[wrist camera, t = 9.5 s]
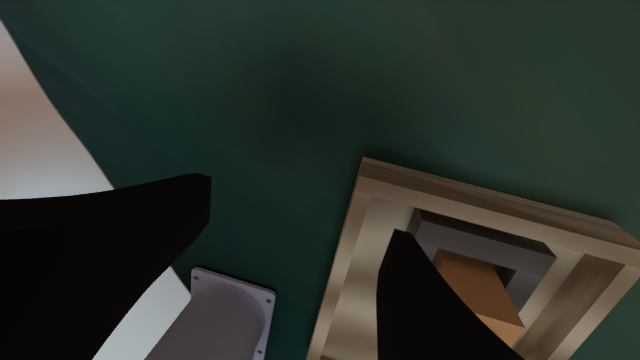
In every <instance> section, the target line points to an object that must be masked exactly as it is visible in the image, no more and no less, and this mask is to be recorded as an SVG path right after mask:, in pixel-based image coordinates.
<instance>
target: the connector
mask: <svg viewBox="0 0 640 360" xmlns="http://www.w3.org/2000/svg"><path fill="white" fill-rule="evenodd" d="M432 263H433V265H434V266H435V267H436V269H437V270H438V271H439V273H440V274H441V275H442V277H443V278H444V279H445V281H446V282H447V283H448V284H449V285H450V287H451V288H452V289H453V290H454V291H455V293H456V294H457V295H458V296H459V297H460V298H461V299H462V301H463V302H464V303H465V304H466V305H467V306H468V307H469V308H470V309H471V310H472V311H473V312H474V313H475V314H476V315H477V316H478V317H479V319H480V320H481V321H482V322H484V323H485V324H486V325H487V326H488V327H489V328H490V329H491V330H492V331H493V332H494V333H495V334H496V335H497V336H498V337H500V338H501V339H502V340H503V341H504V342H505V343H506V344H507V345H508V346H509V347H512V346H513V345H514V343H515V342H516V341H517V339H518V338H519V336H520V335H521V334H522V332H523V331H524V330H525V326H524V325H523V323H522V321H521V319H520V317H519V315H518V313H517V311H516V309H515V307H514V305H513V303H512V302H511V300H510V298H509V296H508V294H507V292H506V290H505V288H504V286H503V284H502V282H501V280H500V279H499V277H498V275H497V273H496V271H495V269H494V267H493V265H492V263H489V262H486V261H482V260H479V259H475V258H472V257H468V256H464V255H461V254H457V253H454V252H450V251H447V250H443V249H440V248H438V250H437V252H436V254H435V256H434V258H433V260H432Z"/></svg>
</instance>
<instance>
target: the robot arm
mask: <svg viewBox="0 0 640 360" xmlns="http://www.w3.org/2000/svg"><path fill="white" fill-rule="evenodd" d="M211 180H212V177H210V176H206V175H203V174H199V173H193V174H186V175H181V176H176V177H172V178H167V179H163V180H158V181H154V182H149V183H145V184H140V185H135V186H130V187H125V188H120V189H114V190H109V191H103V192H96V193H89V194H80V195H73V196H60V197H47V198H33V199H9V200H0V360H92V359H93V357H94V356H95V355H96V353H97V352H98V351H99V349H100V348H101V346H102V345H103V344H104V342H105V341H106V340H107V338H108V337H109V336H110V335H111V333H112V332H113V331H114V329H115V328H116V327H117V325H118V324H119V323H120V322H121V320H122V319H123V318H124V316H125V315H126V314H127V313H128V311H129V310H130V309H131V308H132V307H133V305H134V304H135V303H136V302H137V300H138V299H139V298H140V297H141V296H142V294H143V293H144V292H145V291H146V290H147V289H148V288H149V287H150V285H151V284H152V283H153V282H154V281H155V280H156V279H157V278H158V277H159V276H160V275H161V274H162V273H163V272H164V271H165V270H166V269H167V268H168V267H169V266H170V265H171V264H172V263H173V262H174V261H175V260H176V259H177V258H178V257H179V256H180V255H181V254H182V253H183V252H184V251H185V250H186V249H187V248H188V247H189V246H190V245H191V244H192V243H193V242H194V241H195V240H196V238H197V237H198V236H199V235H200V233H201V232H202V231H203V229H204V228H205V226H206V225H207V224H208V222H209V218H210V199H211ZM269 299H270V300H269ZM275 300H276V293H275V292H274V291H272V290H270V289H266V288H263V287H260V286H257V285H254V284H250V283H247V282H244V281H241V280H238V279H234V278H231V277H228V276H225V275H222V274H218V273H215V272H212V271H209V270H206V269H202V268H199V267H195V268H194V269H193V270H192V272H191V300H190V302H189V303H188V304H187V306H186V307H185V308H184V309H183V311H182V312H181V313H180V315H179V316H178V317H177V319H176V320H175V321H174V322H173V324H172V325H171V326H170V327H169V329H168V330H167V331H166V333H165V334H164V335H163V336H162V338H161V339H160V340H159V341H158V343H157V344H156V345H155V347H154V348H153V349H152V350H151V352H150V353H149V354H148V355H147V357H146V358H145V359H144V360H264V357H265V352H266V347H267V342H268V336H269V331H270V326H271V321H272V315H273V310H274V305H275ZM376 318H377V351H378V360H525V359H524V358H522V357H521V356H520V355H519V354H518V353H516V352H515V351H514V350H513V349H512V348H511V347H509V346H508V345H507V344H506V343H505V342H504V341H503V340H502V339H501V338H500V337H498V336H497V335H496V334H495V333H494V332H493V331H492V330H491V329H490V328H489V327H488V326H487V325H486V324H485V323H484V322H482V321H481V320H480V319H479V317H478V316H477V315H476V314H475V313H474V312H473V311H472V310H471V309H470V308H469V307H468V306H467V305H466V304H465V303H464V302H463V301H462V299H461V298H460V297H459V296H458V295H457V294H456V293H455V291H454V290H453V289H452V288H451V287H450V285H449V284H448V283H447V282H446V281H445V279H444V278H443V277H442V275H441V274H440V273H439V271H438V270H437V269H436V267H435V266H434V265H433V263H432V262H431V261H430V259H429V258H428V256H427V255H426V253H425V252H424V251H423V249H422V248H421V246H420V245H419V243H418V242H417V240H416V239H415V238H414V236H413V235H412V234H411V233H409V232H406V231H402V230H399V229H395V228H394V231H393V234H392V236H391V239H390V242H389V244H388V247H387V250H386V252H385V255H384V258H383V260H382V263H381V266H380V268H379V271H378V280H377V290H376Z"/></svg>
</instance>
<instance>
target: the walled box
mask: <svg viewBox="0 0 640 360" xmlns="http://www.w3.org/2000/svg"><path fill="white" fill-rule="evenodd" d="M394 228H395V229H399V230H402V231H406V232H409V233H411V234H412V235H413V236H414V238H415V239H416V240H417V242H418V243H419V245H420V246H421V248H422V249H423V251H424V252H425V253H426V255H427V256H428V258H429V259H430V261H431V262H432V260H433V258H434V256H435V254H436V252H437V250H438V248H440V249H443V250H447V251H450V252H454V253H457V254H461V255H464V256H468V257H472V258H475V259H479V260H482V261H486V262H489V263H492V265H493V267H494V269H495V271H496V273H497V275H498V277H499V279H500V280H501V282H502V284H503V286H504V288H505V290H506V292H507V294H508V296H509V298H510V300H511V302H512V303H513V305H514V307H515V309H516V311H517V313H518V315H519V317H520V319H521V321H522V323H523V325H524V326H525V330H524V331H523V332H522V334H521V335H520V336H519V338H518V339H517V341H516V342H515V343H514V345H513V346H512V347H511V348H512V349H513V350H514V351H515V352H516V353H518V354H519V355H520V356H521V357H522V358H524V359H525V360H568V359H569V357H570V356H571V355H572V354H573V353H574V352H575V351H576V349H577V348H578V347H579V346H580V345H581V344H582V343H583V341H584V340H585V339H586V338H587V337H588V336H589V335H590V333H591V332H592V331H593V330H594V329H595V328H596V327H597V325H598V324H599V323H600V322H601V321H602V320H603V319H604V317H605V316H606V315H607V314H608V313H609V312H610V311H611V309H612V308H613V307H614V306H615V305H616V304H617V303H618V301H619V300H620V299H621V298H622V297H623V296H624V295H625V293H626V292H627V291H628V290H629V289H630V288H631V287H632V285H633V284H634V283H635V282H636V281H637V280H638V279H639V277H640V242H639V241H638V240H637V239H635V238H634V237H633V236H631V235H630V234H628V233H627V232H626V231H624V230H623V229H622V228H620V227H619V226H617V225H616V224H615V223H613V222H612V221H609V220H605V219H601V218H597V217H594V216H590V215H586V214H582V213H578V212H574V211H571V210H567V209H563V208H559V207H555V206H551V205H547V204H544V203H540V202H536V201H532V200H528V199H524V198H521V197H517V196H513V195H509V194H505V193H501V192H498V191H494V190H490V189H486V188H482V187H478V186H474V185H471V184H467V183H463V182H459V181H455V180H451V179H448V178H444V177H440V176H436V175H432V174H428V173H425V172H421V171H417V170H413V169H409V168H405V167H401V166H398V165H394V164H390V163H386V162H382V161H378V160H375V159H371V158H367V157H363V158H362V161H361V165H360V168H359V172H358V175H357V179H356V182H355V186H354V189H353V193H352V196H351V200H350V203H349V207H348V210H347V214H346V217H345V221H344V225H343V228H342V232H341V235H340V239H339V242H338V246H337V249H336V253H335V256H334V260H333V263H332V267H331V270H330V274H329V277H328V281H327V284H326V288H325V292H324V295H323V299H322V302H321V306H320V309H319V313H318V316H317V320H316V323H315V327H314V330H313V334H312V337H311V341H310V344H309V348H308V352H307V356H306V360H378V351H377V318H376V290H377V280H378V271H379V268H380V266H381V263H382V260H383V258H384V255H385V252H386V250H387V247H388V244H389V242H390V239H391V236H392V234H393V231H394Z"/></svg>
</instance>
